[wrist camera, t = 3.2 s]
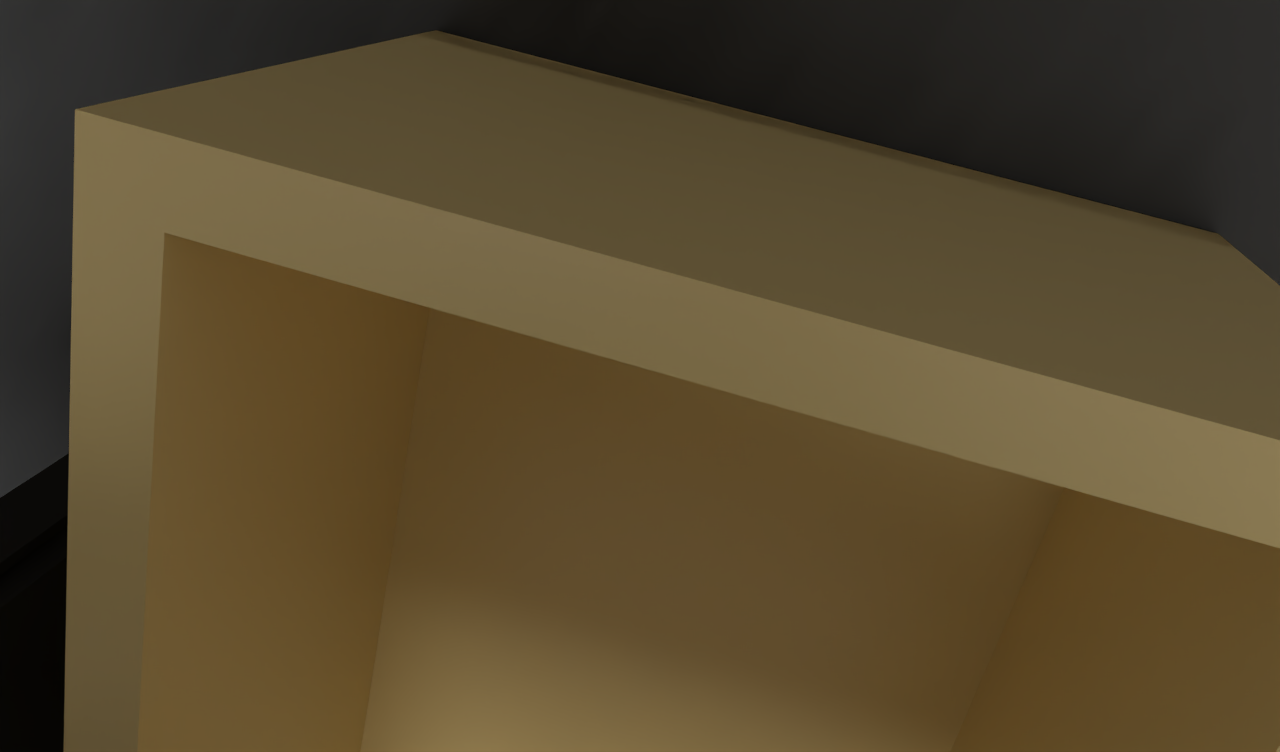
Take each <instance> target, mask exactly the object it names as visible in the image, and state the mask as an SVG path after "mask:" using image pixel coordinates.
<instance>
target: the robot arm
mask: <svg viewBox="0 0 1280 752" xmlns="http://www.w3.org/2000/svg"><path fill="white" fill-rule="evenodd" d="M68 477H69V454H67V455H66V456H64V457H63V458H61V459H60V460H58V461H57V462H55V463H54V464H52V465H50V466H49V467H47V468H46V469H44V470H43V471H41V472H40V473H38V474H37V475H35V476H34V477H32V478H30V479H29V480H27V481H26V482H24V483H23V484H21V485H20V486H18V487H17V488H15V489H13V490H12V491H10V492H9V493H7V494H6V495H4V496H3V497H1V498H0V752H64V701H65V645H66V589H67V533H68Z"/></svg>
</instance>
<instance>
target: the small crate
mask: <svg viewBox="0 0 1280 752" xmlns="http://www.w3.org/2000/svg"><path fill="white" fill-rule="evenodd" d="M64 752H1280V285H1278V284H1277V283H1276V282H1275V281H1274V280H1272V279H1271V278H1270V277H1269V276H1268V275H1267V274H1265V273H1264V272H1263V271H1262V270H1261V269H1259V268H1258V267H1257V266H1256V265H1255V264H1254V263H1252V262H1251V261H1250V260H1249V259H1248V258H1246V257H1245V256H1244V255H1243V254H1242V253H1241V252H1239V251H1238V250H1237V249H1236V248H1235V247H1233V246H1232V245H1231V244H1230V243H1229V242H1228V241H1226V240H1225V239H1224V238H1223V237H1222V236H1220V235H1219V234H1217V233H1213V232H1210V231H1206V230H1202V229H1198V228H1194V227H1190V226H1187V225H1183V224H1179V223H1175V222H1171V221H1167V220H1163V219H1160V218H1156V217H1152V216H1148V215H1144V214H1140V213H1137V212H1133V211H1129V210H1125V209H1121V208H1117V207H1113V206H1110V205H1106V204H1102V203H1098V202H1094V201H1090V200H1087V199H1083V198H1079V197H1075V196H1071V195H1067V194H1064V193H1060V192H1056V191H1052V190H1048V189H1044V188H1040V187H1037V186H1033V185H1029V184H1025V183H1021V182H1017V181H1014V180H1010V179H1006V178H1002V177H998V176H994V175H990V174H987V173H983V172H979V171H975V170H971V169H967V168H964V167H960V166H956V165H952V164H948V163H944V162H941V161H937V160H933V159H929V158H925V157H921V156H917V155H914V154H910V153H906V152H902V151H898V150H894V149H891V148H887V147H883V146H879V145H875V144H871V143H867V142H864V141H860V140H856V139H852V138H848V137H844V136H841V135H837V134H833V133H829V132H825V131H821V130H818V129H814V128H810V127H806V126H802V125H798V124H794V123H791V122H787V121H783V120H779V119H775V118H771V117H768V116H764V115H760V114H756V113H752V112H748V111H744V110H741V109H737V108H733V107H729V106H725V105H721V104H718V103H714V102H710V101H706V100H702V99H698V98H695V97H691V96H687V95H683V94H679V93H675V92H671V91H668V90H664V89H660V88H656V87H652V86H648V85H645V84H641V83H637V82H633V81H629V80H625V79H621V78H618V77H614V76H610V75H606V74H602V73H598V72H595V71H591V70H587V69H583V68H579V67H575V66H572V65H568V64H564V63H560V62H556V61H552V60H548V59H545V58H541V57H537V56H533V55H529V54H525V53H522V52H518V51H514V50H510V49H506V48H502V47H498V46H495V45H491V44H487V43H483V42H479V41H475V40H472V39H468V38H464V37H460V36H456V35H452V34H449V33H445V32H441V31H437V30H434V31H430V32H425V33H420V34H416V35H411V36H407V37H402V38H398V39H393V40H389V41H384V42H379V43H375V44H370V45H366V46H361V47H357V48H352V49H348V50H343V51H338V52H334V53H329V54H325V55H320V56H316V57H311V58H307V59H302V60H297V61H293V62H288V63H284V64H279V65H275V66H270V67H266V68H261V69H256V70H252V71H247V72H243V73H238V74H234V75H229V76H224V77H220V78H215V79H211V80H206V81H202V82H197V83H193V84H188V85H183V86H179V87H174V88H170V89H165V90H161V91H156V92H152V93H147V94H142V95H138V96H133V97H129V98H124V99H120V100H115V101H111V102H106V103H101V104H97V105H92V106H88V107H83V108H79V109H75V143H74V198H73V254H72V310H71V366H70V422H69V477H68V533H67V589H66V645H65V701H64Z"/></svg>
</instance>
